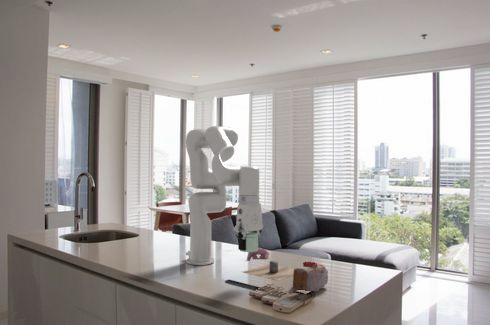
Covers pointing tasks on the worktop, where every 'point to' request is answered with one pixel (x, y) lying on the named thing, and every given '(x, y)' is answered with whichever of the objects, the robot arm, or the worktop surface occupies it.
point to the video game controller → (262, 252)
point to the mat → (241, 285)
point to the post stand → (272, 271)
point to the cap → (251, 242)
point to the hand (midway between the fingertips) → (248, 248)
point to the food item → (310, 277)
